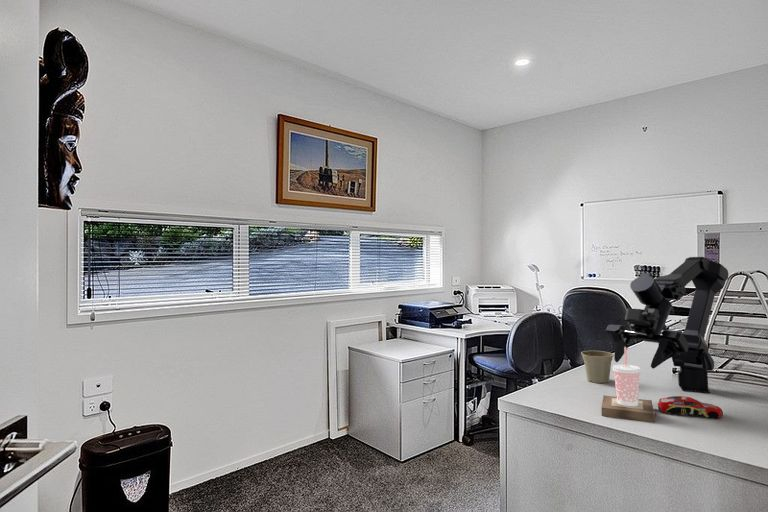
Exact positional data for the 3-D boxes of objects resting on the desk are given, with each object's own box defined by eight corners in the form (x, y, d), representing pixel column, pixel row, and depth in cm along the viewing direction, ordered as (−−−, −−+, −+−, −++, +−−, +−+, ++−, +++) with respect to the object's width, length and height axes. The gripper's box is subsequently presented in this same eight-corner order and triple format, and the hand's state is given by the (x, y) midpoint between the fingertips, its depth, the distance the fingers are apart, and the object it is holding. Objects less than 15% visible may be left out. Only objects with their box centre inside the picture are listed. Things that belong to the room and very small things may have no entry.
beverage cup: (612, 398, 115) (610, 344, 115) (639, 400, 113) (637, 345, 113) (614, 405, 110) (612, 348, 110) (643, 408, 107) (641, 349, 107)
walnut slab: (651, 408, 113) (651, 399, 113) (654, 422, 104) (653, 413, 104) (603, 402, 119) (603, 395, 119) (601, 415, 109) (601, 407, 109)
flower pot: (621, 384, 136) (619, 356, 136) (589, 385, 136) (588, 356, 136) (606, 376, 145) (605, 350, 145) (577, 377, 145) (576, 351, 145)
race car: (720, 414, 108) (720, 398, 108) (726, 421, 103) (725, 404, 103) (657, 408, 114) (656, 392, 114) (659, 414, 109) (658, 398, 109)
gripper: (607, 295, 124) (585, 340, 118) (680, 298, 108) (658, 350, 102) (625, 320, 128) (604, 365, 122) (697, 327, 112) (678, 378, 106)
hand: (633, 364), depth 113 cm, fingers open, 9 cm apart
